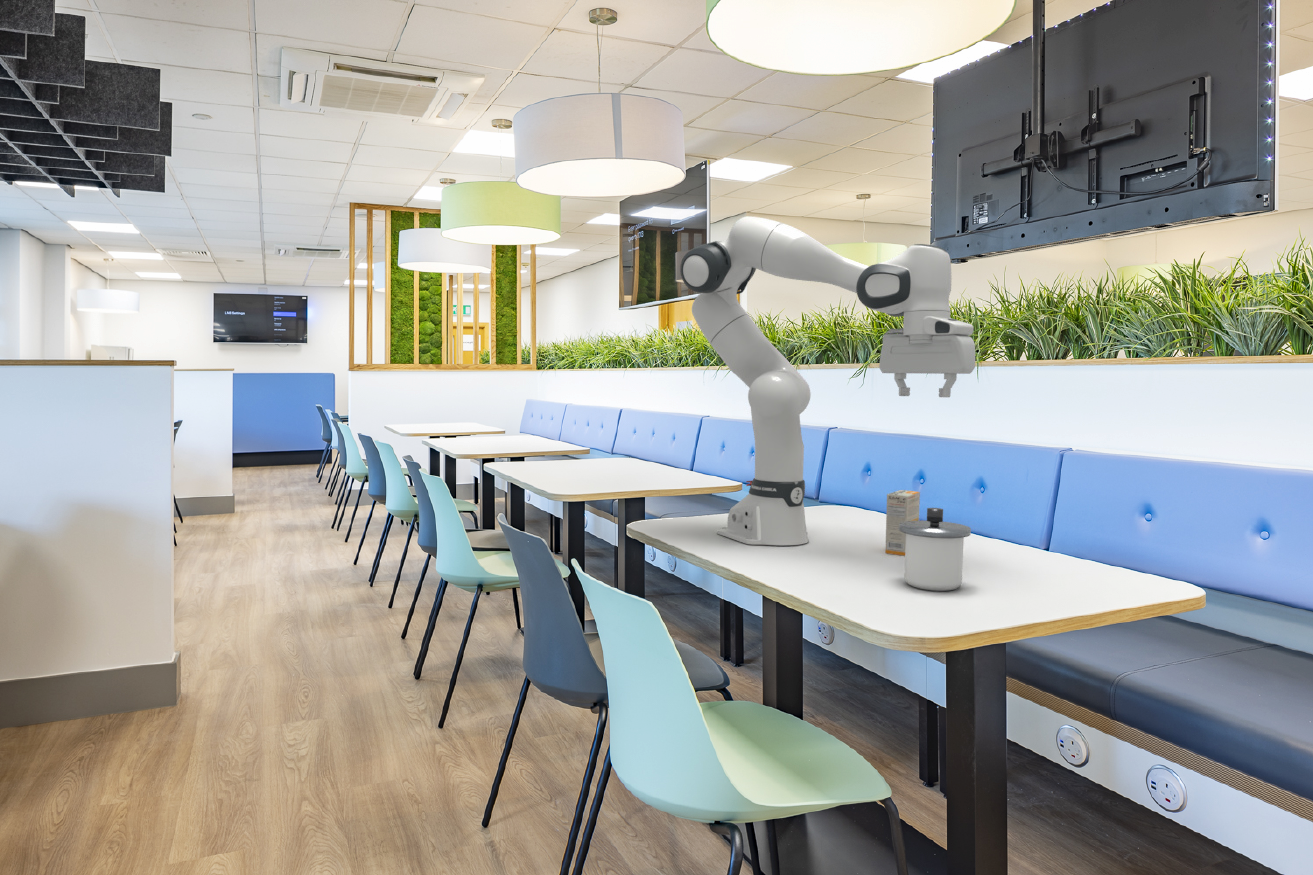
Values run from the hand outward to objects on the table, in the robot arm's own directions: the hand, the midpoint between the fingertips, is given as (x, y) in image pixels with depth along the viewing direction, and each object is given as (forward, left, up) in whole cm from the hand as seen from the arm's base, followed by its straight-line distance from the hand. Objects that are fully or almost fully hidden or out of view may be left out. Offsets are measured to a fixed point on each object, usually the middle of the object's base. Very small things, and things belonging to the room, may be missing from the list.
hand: (923, 396), depth 168 cm
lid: (+12, -12, -24) cm, 29 cm away
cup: (+12, -12, -34) cm, 38 cm away
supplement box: (-10, +8, -34) cm, 37 cm away
